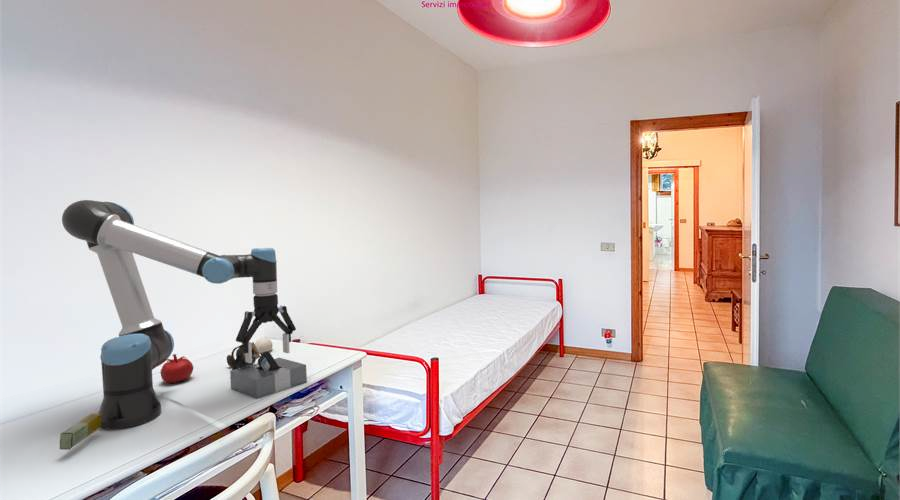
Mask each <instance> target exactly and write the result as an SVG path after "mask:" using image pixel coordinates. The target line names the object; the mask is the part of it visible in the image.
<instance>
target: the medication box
mask: <svg viewBox="0 0 900 500" xmlns="http://www.w3.org/2000/svg"><path fill="white" fill-rule="evenodd" d="M101 419H102V414H98V413H90V414H89V415H88V416H85V417H84V418H83V419H82V420H80V421H78V422H77V423H75V424H73V425H72V426H71V427H69V428H67V429H66V430H64V431H62V432H61V433H60V436H59V437H60V438H59V450H66V451H67V450H71V449H73V448H74V447H75V446H76V445H78V444H79V443H81V442H82V441H84V439H87V438H88V437H90V435H92V434H94V433H95V432H97V431H98V430H99V429H102V428H101Z"/></svg>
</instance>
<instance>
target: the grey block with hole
mask: <svg viewBox="0 0 900 500" xmlns="http://www.w3.org/2000/svg"><path fill="white" fill-rule="evenodd" d="M274 360H275V361H276V363H277V364H278V366H279V369H275V370H272V371H269V372H266V371H263V370H262V369H261V368H260V366H259V364H258V362H257V363H254V365H250V366H246V367H242V368H239V369H235V370H232V369H231V370H229V372H230V373H229V374H230V377H229V378H230V390H234V391H236V392H239V393H241V394H243V395H247V396H249V397H252V398H254V399H257V400H258V399H261V398H262V397H266V396H270V395H272V394H276V393H278V392H281V391H284V390H287V389H290V388H293V387H297V386H299V385H302V384H305V383H307V381H308V377H307V376H308V375H307V364H305V363H301V362H298V361H294V360H291V359H287V358H282V357H277V358H274Z"/></svg>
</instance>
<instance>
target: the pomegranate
mask: <svg viewBox="0 0 900 500" xmlns="http://www.w3.org/2000/svg"><path fill="white" fill-rule="evenodd" d="M172 357H173V359H171V358H168V359H167V360H166V361H165V362H164V363H163V365H162V367H161V369H160V372H159V373H160V376H161V377H160V378H161V379H162V380H163V381H164V382H165V383H171V384H172V383H178V382H182V381H184V380H187V379H188V378H190V377H191V375H192V373H193V372H194V365H193V363H192V361H190V360H189V359H188V358H186V356H181V357H179V358H178V357H177V353H174V354H172Z"/></svg>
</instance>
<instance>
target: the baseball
mask: <svg viewBox="0 0 900 500" xmlns="http://www.w3.org/2000/svg"><path fill="white" fill-rule="evenodd" d="M254 344H255V346H256V348H257V350H258V352H259V354H262V353H263V352H266V351H269V352H270V353H271V351H272V349H273V342H272V341H271V339H270V338H268V337H261V338H259V339H257V341H256V342H254Z"/></svg>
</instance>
